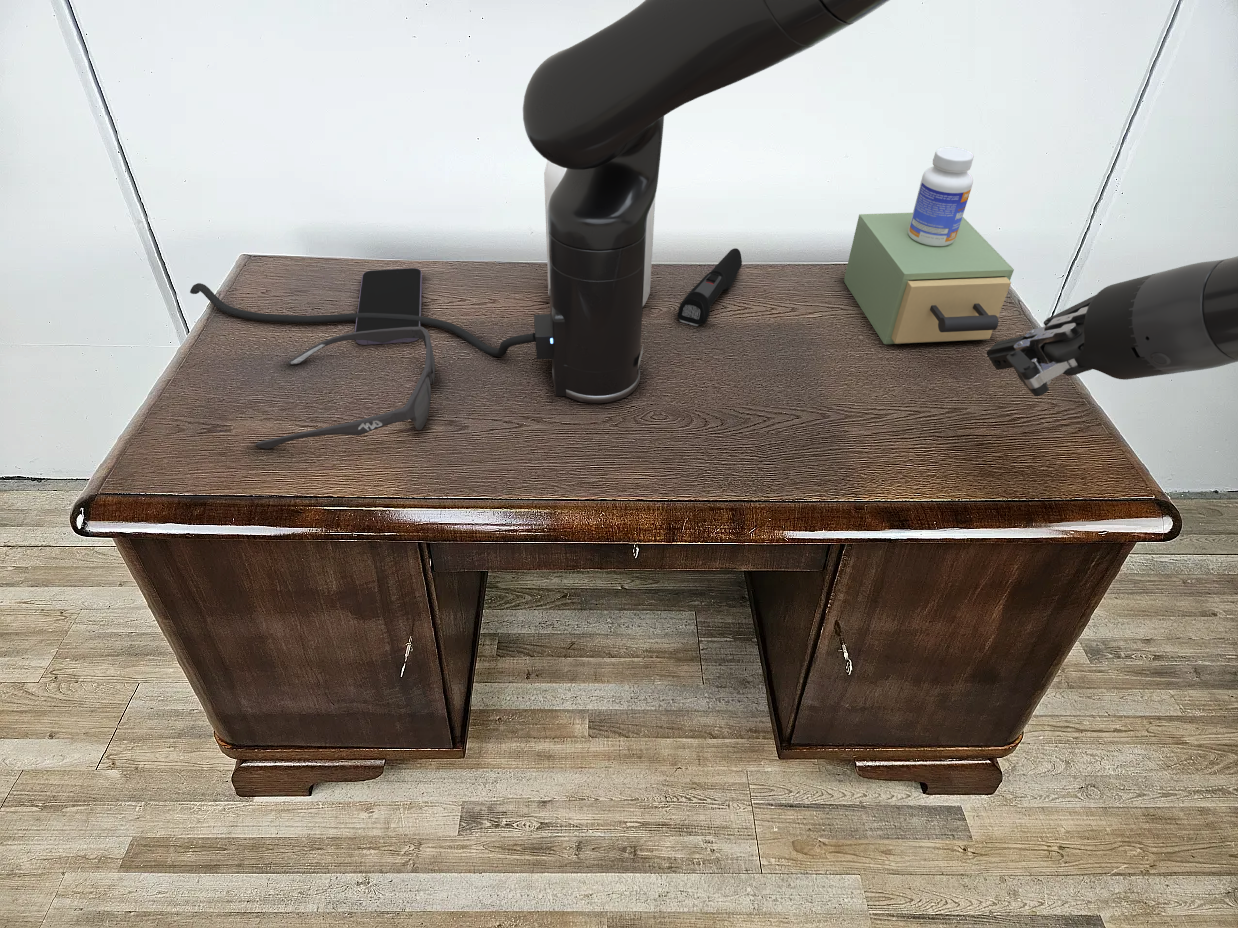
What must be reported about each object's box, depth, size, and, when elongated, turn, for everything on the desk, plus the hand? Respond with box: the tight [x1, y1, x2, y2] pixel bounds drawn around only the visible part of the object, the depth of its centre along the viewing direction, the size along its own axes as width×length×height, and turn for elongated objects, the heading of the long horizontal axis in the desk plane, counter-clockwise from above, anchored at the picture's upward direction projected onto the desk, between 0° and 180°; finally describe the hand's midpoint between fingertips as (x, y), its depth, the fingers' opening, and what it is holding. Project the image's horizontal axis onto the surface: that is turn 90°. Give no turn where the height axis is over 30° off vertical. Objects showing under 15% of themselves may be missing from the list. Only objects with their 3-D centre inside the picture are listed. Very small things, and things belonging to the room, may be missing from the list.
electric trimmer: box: [677, 247, 743, 327], centre depth 101 cm, size 4×16×3 cm, turn 153°
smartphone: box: [354, 267, 423, 346], centre depth 97 cm, size 7×1×15 cm
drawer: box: [891, 277, 1012, 344], centre depth 95 cm, size 18×11×7 cm, turn 7°
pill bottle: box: [908, 146, 974, 246], centre depth 92 cm, size 5×5×10 cm
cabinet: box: [843, 212, 1015, 345], centre depth 97 cm, size 15×13×9 cm
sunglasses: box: [255, 326, 436, 450], centre depth 83 cm, size 16×17×5 cm
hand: (995, 356), depth 76 cm, fingers closed
